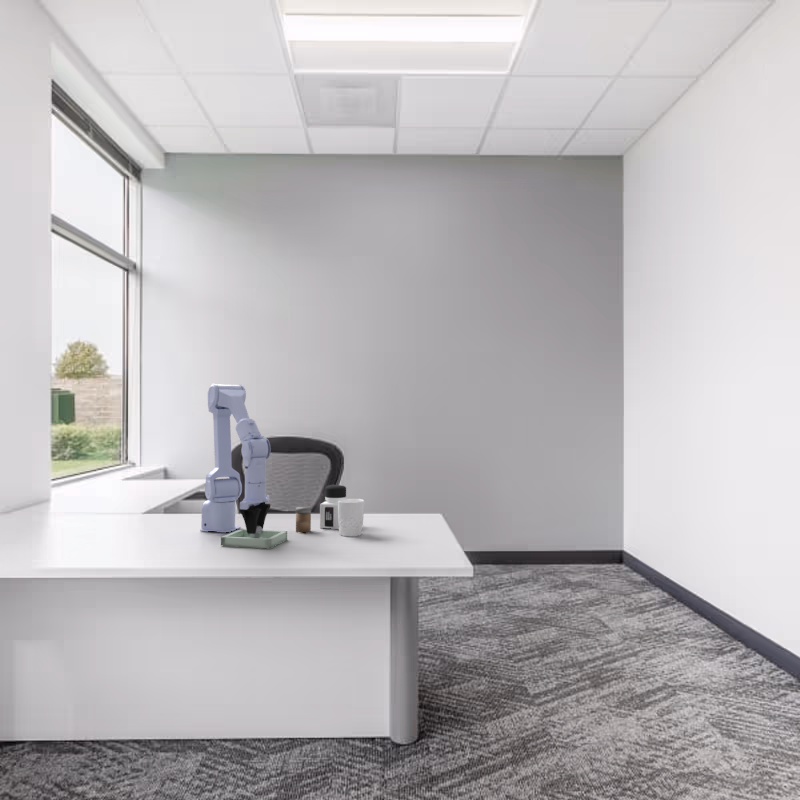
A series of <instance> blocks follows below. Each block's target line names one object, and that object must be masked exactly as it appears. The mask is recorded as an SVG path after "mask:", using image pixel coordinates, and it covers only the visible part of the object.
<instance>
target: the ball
mask: <svg viewBox="0 0 800 800" xmlns="http://www.w3.org/2000/svg"><path fill="white" fill-rule="evenodd" d="M263 530H264V528H263V529H262V527H261V526H260V525H257V529H256V533H255V534H248V535H249V537H250V538H260V537H261V536H262V534H263Z"/></svg>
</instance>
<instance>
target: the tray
mask: <svg viewBox="0 0 800 800" xmlns="http://www.w3.org/2000/svg"><path fill="white" fill-rule="evenodd" d="M285 540H286V541H287V540H288V531H285V530H274V529H273V530H270V529H263V534H262V536H261V537H260V538H250V537H249V535H248V533H247V529H246V528H239V529H237V530H234V531H232V532H229V533H228V534H225V535H223V536H221V537H220V546H221V545H223V546H222V547H229V546H238V547H237V548H245V547H251V548H250V549H261V548H267V549H266V550H270V548H271V549H272V548H274V547H276V546H278V545H279V543H280V544H282V543H284V542H286V541H285ZM283 541H284V542H283ZM281 542H282V543H281ZM277 544H278V545H277ZM275 545H276V546H275Z"/></svg>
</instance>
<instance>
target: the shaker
mask: <svg viewBox="0 0 800 800" xmlns="http://www.w3.org/2000/svg"><path fill="white" fill-rule="evenodd" d="M311 514H312V507H310V506H297V507H295V532H296V533H298V532H302V533H301V534H304V533H303V532H307V533H310V532H311V530H312V528H311V526H312V525H311V524H312V519H311V518H312V517H311V516H312V515H311Z"/></svg>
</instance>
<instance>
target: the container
mask: <svg viewBox="0 0 800 800" xmlns="http://www.w3.org/2000/svg"><path fill="white" fill-rule="evenodd" d="M324 490H325V491H324V498H325V499H324V501H323V502H322V503H320V505H319V528H320V529H323V528H331V529H330V530H339V524H338V500H340V499H347V487H346V486H345V485H342V484H329V485H326V487H325V489H324Z"/></svg>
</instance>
